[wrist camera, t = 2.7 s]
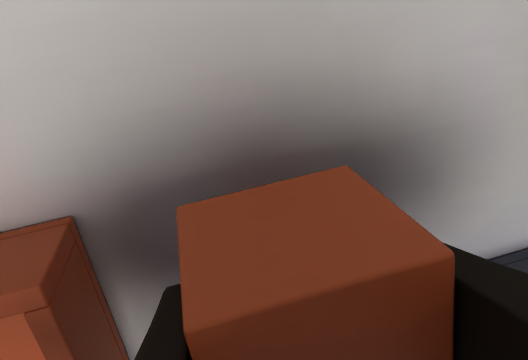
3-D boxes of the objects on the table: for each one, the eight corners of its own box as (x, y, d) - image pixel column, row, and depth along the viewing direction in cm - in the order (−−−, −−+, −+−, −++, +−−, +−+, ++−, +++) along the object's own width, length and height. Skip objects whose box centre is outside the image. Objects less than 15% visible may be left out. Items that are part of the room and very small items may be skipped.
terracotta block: (359, 300, 13) (453, 436, 8) (213, 343, 12) (239, 513, 8) (347, 163, 11) (457, 252, 7) (175, 205, 10) (182, 331, 6)
